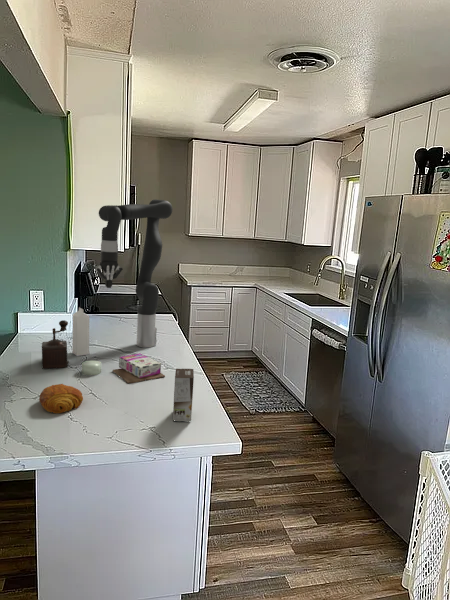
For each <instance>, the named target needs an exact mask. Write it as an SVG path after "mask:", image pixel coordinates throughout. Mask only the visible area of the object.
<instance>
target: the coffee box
mask: <svg viewBox="0 0 450 600" xmlns="http://www.w3.org/2000/svg"><path fill="white" fill-rule="evenodd" d="M194 375H195V374H194V368H176V369H175V375H174V391H173V407H172V408H173V410H172V411H173V412H172V413H173V414H172V421H173V420H175V421H191V422H192V413H193V412H192V411H193V399H194V396H193V394H194V382H195V381H194V378H195V377H194Z"/></svg>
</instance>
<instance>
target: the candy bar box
mask: <svg viewBox="0 0 450 600" xmlns="http://www.w3.org/2000/svg"><path fill="white" fill-rule="evenodd" d="M161 367H162V363H161V362H159V361H157V360H155V359H153V358H151V357H149V356H146V355H145V354H143V353H140V352H139V353H135V354H130V355H129V354H128V355H124V356H119V357H118V368H119V369H121V368H122V369H124V370H126V371H127V372H129V373H131V374H133V375H135V376H136V377H138V378H143V377H147V376H151V375H156V374H160V373H162V371H161Z"/></svg>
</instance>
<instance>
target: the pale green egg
mask: <svg viewBox="0 0 450 600" xmlns="http://www.w3.org/2000/svg"><path fill="white" fill-rule="evenodd" d="M81 374H82V375H84V376H90V377H92V376H99V375H100V374H102V362H101V361H98V360H86V361H83V362H82V363H81Z"/></svg>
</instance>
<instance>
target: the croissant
mask: <svg viewBox="0 0 450 600" xmlns="http://www.w3.org/2000/svg"><path fill="white" fill-rule="evenodd" d="M38 400H39V402H40V405H41V407H42V408H43V410H45V411H46V412H47V413H52V412H53V414H62V413H65V412H69V411H71V410H75V409H74V408H76V409H78V408H79V407H80V405H81V404H82V403H83V401H84V397H83V393H82V391H81V390H80V389H78V388H76V387H74V386H71V385H65V384H63V383H59V384H52V385H51V386H47V387H45V388H44V389H43V390H42V391H41V392H40V395H39V398H38ZM72 408H73V409H72Z"/></svg>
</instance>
